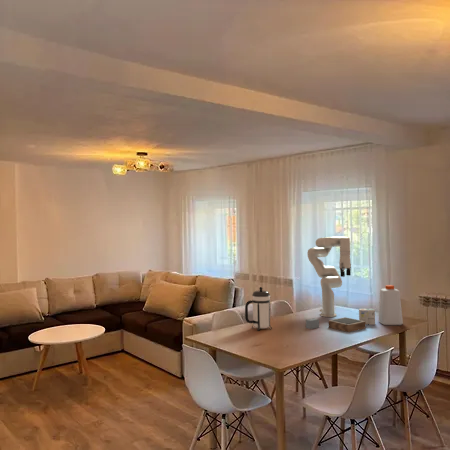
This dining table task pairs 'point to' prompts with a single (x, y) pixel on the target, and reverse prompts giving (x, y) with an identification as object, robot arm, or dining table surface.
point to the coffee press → (260, 309)
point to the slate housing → (312, 323)
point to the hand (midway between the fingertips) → (345, 276)
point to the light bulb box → (367, 316)
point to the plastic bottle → (390, 306)
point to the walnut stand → (347, 324)
